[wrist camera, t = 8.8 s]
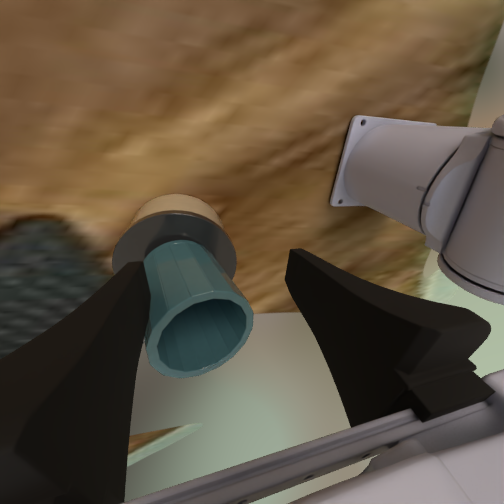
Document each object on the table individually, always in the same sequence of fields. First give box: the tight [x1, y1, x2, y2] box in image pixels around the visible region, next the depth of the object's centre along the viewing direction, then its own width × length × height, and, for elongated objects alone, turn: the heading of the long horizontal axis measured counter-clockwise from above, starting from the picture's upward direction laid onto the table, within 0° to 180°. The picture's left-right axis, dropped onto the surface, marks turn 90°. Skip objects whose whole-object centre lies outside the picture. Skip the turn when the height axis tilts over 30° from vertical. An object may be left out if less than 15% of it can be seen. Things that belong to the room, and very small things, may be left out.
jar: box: [112, 194, 237, 280], centre depth 18 cm, size 9×9×5 cm
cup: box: [143, 240, 253, 378], centre depth 13 cm, size 5×5×6 cm
